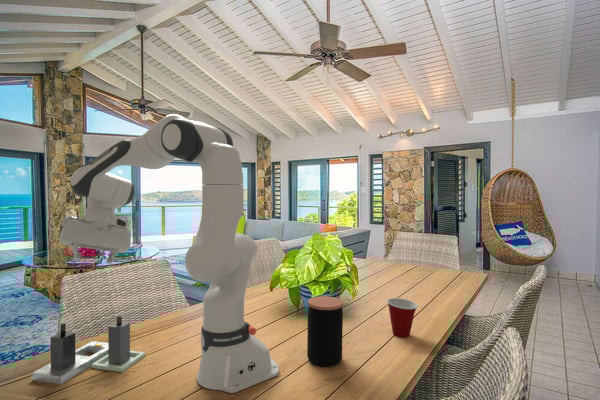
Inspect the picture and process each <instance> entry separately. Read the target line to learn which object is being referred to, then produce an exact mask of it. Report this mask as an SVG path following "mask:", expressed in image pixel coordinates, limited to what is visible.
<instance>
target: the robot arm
mask: <svg viewBox="0 0 600 400" xmlns="http://www.w3.org/2000/svg"><path fill="white" fill-rule="evenodd" d="M175 159H179V160H183V161H185V162H188V163H192V162H196V163H197V164H198V165H199V166H200V168H201V189H202V191H201V192H202V193H201V195H202V197H201V201H202V203H201V204H202V206H201V216H200V217H201V218H200V221H199V226H198V231H197V233H196V237H195V239H194V241H193V243H192V244H191V246H190V247H189V248H188V249H187V251H186V254H185V257H184V266H185V269H186V271H187V274H188V275H189V276H190V277H191V278H192V279H193V280H195V281H198V282H210V285H209V288H208V289H207V291H206V292H205V294H204V296H203V301H202V303H203V304H202V307H203V309H202V310H203V311H202V312H203V313H202V321H203V322H202V326H201V332H200V346H201V347H200V348H201V355H200V356H201V357H200V364H199V368H198V371H197V376H196V382H197V383H198V384H199V385H200V386H201V387H203V388H205V389H209V390H215V391H223V392H226V393H229V394H235V393H237V392H239V391H242V390H244V389H247V388H249V387H252V386H254V385H257V384H259V383H262V382H264V381H268V380H269V379H271V378H274V377H277V376H279V374H280V368H279V365H278V363H277V362H276V361H275V359H273V357H271V353H270V351H269V349H268V347H267V345H266V344H265V343H264V342H263V341H261V340H260V339H259V338H256V337H255V336H254V335H256V333H257V328H256V327H255V326H254V325H251V324H250V323H248V322H247V321H245V299H246V291H247V286H248V281H249V277H250V273H251V269H252V265H253V263H254V261H255V259H256V258H257V254H258V246H257V244H256V242H255V240H254V239H253V238H252V237H251V236H250V235H247V234H245V233H239V232H237V230H238V225H239V222H240V221H241V218H243V215H244V212H245V207H244V204H245V203H244V202H245V199H244V198H245V197H244V173H243V165H242V160H241V155H240V152H239V151H238V149H237V148H236V147H235V146H234V142H233V138H232V136H231V135H230V134H229V132H227V131H226V130H225V129H222V128H221V127H216V126H213V125H210V124H207V123H205V122H201V121H196V120H189V119H187V118H185V117H183V116H182V115H180V114H175V113H173V114H168V115H166V116H165V117H163V118H162V119H159V120H158V121H157V122H155V123H154V124H153V125H152V126H151V127H150V128H149V129H148V130H147V131H146V132H144V133H143V134H142V135H140V136H137V137H135V138H132V139H131V138H130V139H124V140H120V141H119V142H117V143H115V144H113V145H112V146H111V147H109V148H108V149H107V150H105V151H103V152H102V153H101V154H99V155H98V156H96V157H95V158H94V159H92V160H90V161H89V162H87V163H86V164H83V165H80V166H79V167H78V168H76V170H75V171H74V172H73V173H72V176H71V177H70V181H69V185H70V188H71V189H72V192H74V194H75V195H76V196H79V197H82V198H83V197H84V198H86V204H87V208H85V212H84V218H82V217H77V216H76V217H75V216H72V215H69V216H65V217H63V218H62V220H61V228H62V229H61V231H60V234H59V238H58V242H59V244H60V245H64V246H69V247H70V249H71V252H72V254H73V260H78V261H79V260H81V255H82V252H79V250H78V248H84V249H91V250H99V251H104V252H105V251H106V252H110V254H111V256H108V257H107V258H106V264H109V265H110V264H111V265H112V264H113V262H114V259H115V257H116V256H117V255H118V254H125V253H127V252H128V251H129V250H130V248H131V233H130V231H129V227H130V223H129V222H128V221H126V220H124V219H122V218H121V217H118V216H116V213H115V212H116V210H117V209H121V208H123V207H126V206H127V205H129V204H131V202H133V199H134V196H135V186H134V183H133V181H132V180H130V179H128V178H126V177H123V176H120V175H117V174H114V173H111V172H110V171H112V170H113V169H116V168H117V167H120V166H128V167H129V166H131V167H137V168H143V169H149V170H158V169H159V170H160V169H162V168H164V167H167V166H168V165H170V164H171V163H172V162H174V160H175Z"/></svg>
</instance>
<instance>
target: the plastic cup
mask: <svg viewBox="0 0 600 400" xmlns="http://www.w3.org/2000/svg"><path fill="white" fill-rule="evenodd" d="M386 302H387V304H388V311H389V317H390V324H391V331H392V335H393V336H395V337H397V338H401V339H407V338H409V337H410V335H411V332H412V331H411V330H412V325H413V322H414V316H415V314H416V313H415V312H416V310H417V309H418V307H419V305H418V303H416V302H414V301H412V300H409V299H405V298H400V297H399V298H398V297H390V298H387V300H386Z"/></svg>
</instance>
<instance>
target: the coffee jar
mask: <svg viewBox="0 0 600 400" xmlns="http://www.w3.org/2000/svg"><path fill="white" fill-rule="evenodd" d="M307 304H308V306H309V307H308V308H307V338H306V339H307V345H306V346H307V347H306V348H307V350H306V353H307V354H306V356H307V358H308V360H309V362H310V363H311V364H312V365H314V366H316V367H319V368H333V367H335V366H337V365H340V363H341V361H342V359H343V330H344V329H343V327H344V326H343V324H344V322H343V319H344V318H343V317H344V311H343V310H344V309H343V308H342V307H343V305H344V301H343V300H342V299H341V298H338V297H334V296H328V295H327V296H325V295H321V296H314V297H311V298H309V299H308V300H307Z"/></svg>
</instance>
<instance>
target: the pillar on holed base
mask: <svg viewBox="0 0 600 400" xmlns="http://www.w3.org/2000/svg"><path fill="white" fill-rule="evenodd" d="M59 325H60V328H59V329H60V332H59V333H57V334H55V335H51V336H50V363H48V364H46V365H44V366H43V367H41V368H39V369H36V370H35V371H33V372H32V381H37V382H42V383H43V382H44V383H50V384H55V385H62V384H64V383H66V382H68V381H69V380H71V379H72V378H73V377H74V378H75V377H76V376H77V375H79V374H81V373H83V372H84V371H85V370H88V369H89V368H90V367H92V364H93V363H95V362H96V361H98V360H100V359H101V358H103V357H104V356H106V355H108V342H105V341H104V342H102V341H95V340H91V341H90V342H88V343H86V344H84V345H82V346H81V347H78V348H76V332H70V331H67V330H66V328H67V327H66V323H65V322H64V323H60V324H59ZM88 353H91V354H92V353H94V354H92V355H89V356H87V355H86V354H88Z"/></svg>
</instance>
